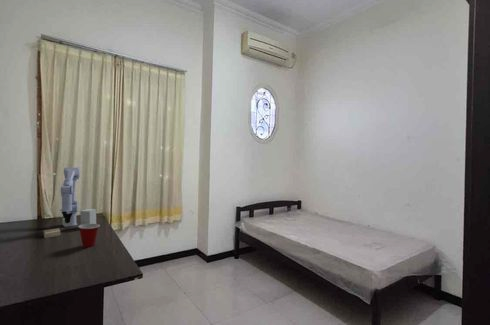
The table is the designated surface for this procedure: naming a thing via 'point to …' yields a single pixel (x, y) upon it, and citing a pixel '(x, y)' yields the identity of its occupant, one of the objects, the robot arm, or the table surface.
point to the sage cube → (65, 222)
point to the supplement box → (88, 216)
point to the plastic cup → (88, 234)
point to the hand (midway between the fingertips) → (67, 222)
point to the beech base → (51, 233)
